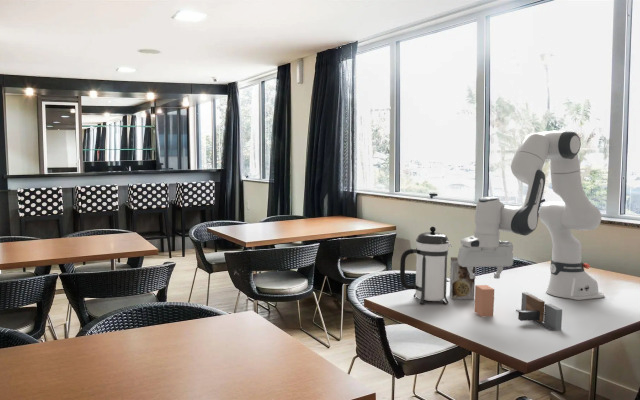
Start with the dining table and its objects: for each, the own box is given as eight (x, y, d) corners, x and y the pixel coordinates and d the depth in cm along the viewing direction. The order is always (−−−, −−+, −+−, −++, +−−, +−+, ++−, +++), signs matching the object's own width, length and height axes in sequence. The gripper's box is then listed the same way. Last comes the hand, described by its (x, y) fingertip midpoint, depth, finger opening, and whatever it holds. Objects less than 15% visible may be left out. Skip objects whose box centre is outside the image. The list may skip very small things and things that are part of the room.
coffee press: (423, 293, 220) (425, 222, 218) (456, 301, 209) (459, 226, 206) (398, 301, 208) (400, 226, 205) (432, 310, 197) (435, 231, 194)
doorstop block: (485, 311, 196) (486, 285, 195) (493, 316, 190) (494, 289, 190) (474, 311, 196) (475, 285, 195) (481, 316, 190) (482, 289, 189)
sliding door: (529, 313, 191) (530, 294, 190) (543, 321, 182) (544, 301, 181) (507, 314, 190) (508, 295, 189) (520, 322, 181) (521, 302, 180)
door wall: (526, 310, 198) (527, 292, 197) (561, 330, 176) (562, 309, 175) (516, 310, 197) (516, 292, 196) (549, 330, 175) (550, 310, 175)
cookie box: (471, 295, 218) (472, 257, 216) (474, 300, 211) (476, 260, 210) (449, 294, 219) (450, 256, 217) (451, 299, 212) (452, 259, 211)
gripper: (508, 239, 195) (506, 276, 196) (456, 239, 192) (455, 276, 193) (517, 242, 189) (515, 280, 190) (463, 242, 186) (462, 280, 187)
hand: (484, 278), depth 192 cm, fingers open, 8 cm apart
